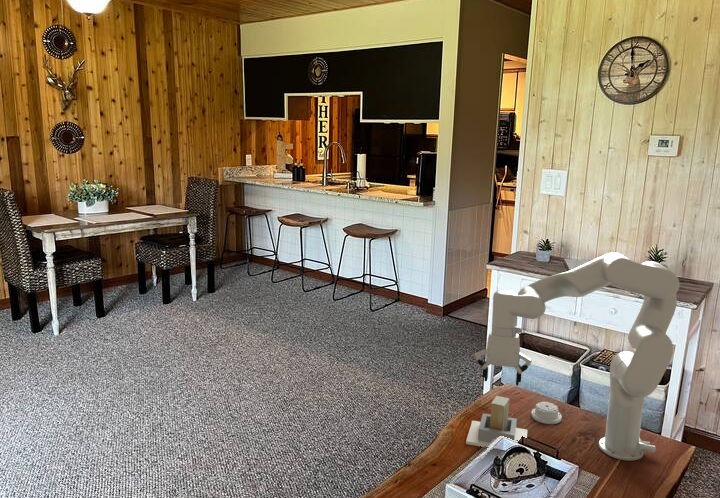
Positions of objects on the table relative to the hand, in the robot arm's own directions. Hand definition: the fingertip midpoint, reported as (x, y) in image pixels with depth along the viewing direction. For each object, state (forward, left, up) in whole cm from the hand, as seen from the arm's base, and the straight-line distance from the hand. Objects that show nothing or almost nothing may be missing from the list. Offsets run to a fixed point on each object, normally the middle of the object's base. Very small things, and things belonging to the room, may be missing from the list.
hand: (501, 381), depth 176 cm
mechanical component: (-14, -20, -20) cm, 32 cm away
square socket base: (0, 0, -20) cm, 20 cm away
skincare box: (0, 0, -19) cm, 19 cm away
